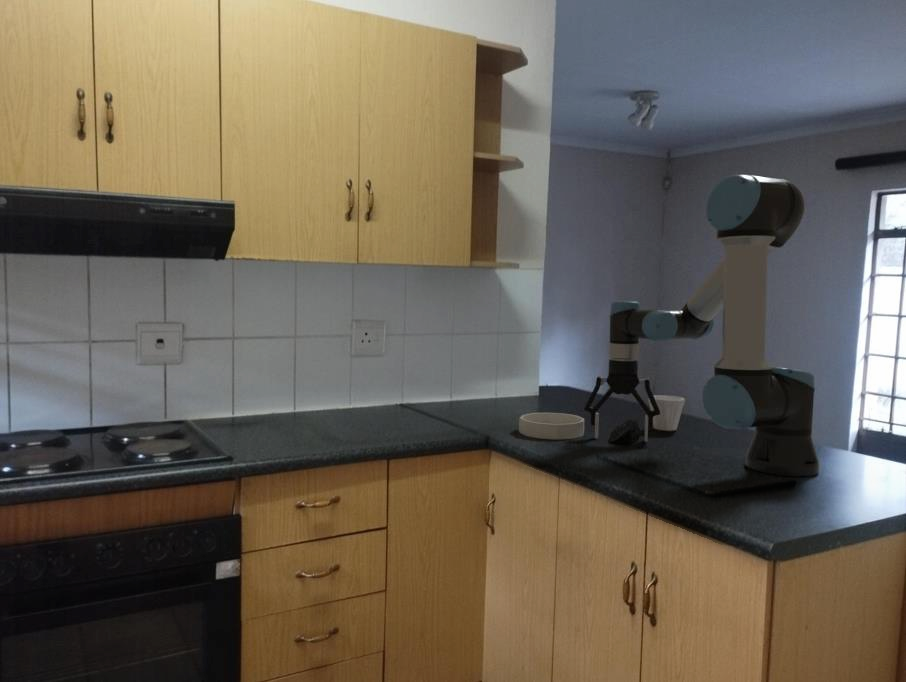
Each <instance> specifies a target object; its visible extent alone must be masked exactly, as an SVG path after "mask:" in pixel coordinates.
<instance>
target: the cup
mask: <svg viewBox="0 0 906 682" xmlns="http://www.w3.org/2000/svg"><path fill="white" fill-rule="evenodd" d="M653 396H654V398H655V401H656V403H657V405H658V408H659V410H660V414H659V415H656V416H654V417H653V428H654V430H656V431H659V432H666V433H667V432H668V433H669V432H672V433H673V432H675V431H677V429H678V425H679V422H680V419H681V414H682V411H683V407H684V404H685V398H684V397H681V396H675V395H666V394H664V395H663V394H661V395H660V394H659V395H658V394H657V395H654V394H653ZM647 397H648V396H647ZM647 401H648V404H649V408H650V410H651V411H653V410H654V409H653V406H652V404H651V402H650V399H649V397H648V398H647Z"/></svg>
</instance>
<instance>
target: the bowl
mask: <svg viewBox="0 0 906 682" xmlns="http://www.w3.org/2000/svg"><path fill="white" fill-rule="evenodd" d="M518 419H519V420H518V425H519V426H518V433H520V434H521V435H524V436H525V437H530V438H535V439H541V440H542V439H543V440H571V439H573V440H574V439H577V438H582V437H584V434H585V418H584V417H582V416H579V415H576V414H569V413H562V412H547V411H546V412H531V413H527V414H526V413H525V414H522V415H520V417H519V418H518Z"/></svg>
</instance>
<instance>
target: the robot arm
mask: <svg viewBox="0 0 906 682" xmlns="http://www.w3.org/2000/svg"><path fill="white" fill-rule="evenodd" d="M804 214H805V200H804V196H803V194H802V192H801V190H800V189H799V187H797V186H796V185H795V184H794V183H793V182H791V181H789V180H787V179H783V178H778V177H777V178H776V177H775V178H774V177H773V178H772V177H764V176H759V175H754V174H732V175H729V176H726V177H724V178H722V179H721V180H719V182H718V183H717V184H716V186H715V187H714V188H712V189H711V191H710V193H709V195H708V198H707V201H706V206H705V216H706V218H707V221H708V222H709V223H710V225H711V227H713V228H714V229H715V230H717V231H716V241H717V242H718V243H719V244H720V246H722V247H723V248H724V249H723V257H722V259H721V261H720V262H719V263H718V264H717V265H716V267H715V268H714V269H713V270H712V272H711V273H710V274H709V276H708V277H706V279H705V280H704V281H703V282H702V284H701V285H700V286H699V288H698V289H697V290H696V291H695V292H694V294H693V295H692V296H691V297H690V298H689V299H688V301H687V302H686V303H685V304H684V305H683V307H682V308H681V309H641V307H640V306H641V304H640V302H639V301H635V300H634V301H632V300H615V301H613V302H612V303H611V305H610V313H609V343H608V345H609V347H608V349H609V350H608V357H609V360H608V373H607V375H608V376H607V377H604V376H603V377H602V376H600V375H598V376H597V377H596V380H595V386H594V388H593V390H592V392H591V394H590V396H589V398H588V400H587V402H586V404H585V406H584V408H583V409H584V411H585V412H588V413H589V414H590V425H591V426H594V439H597V440H598V437H599V416H600V415H599V414H600V413H599V412H597V411H598V410H600V408H601V407H602V406H603V405H604V404H605V402H606V401H607V400H609V398H610V396H611V395H612V394H613V393H614V394H616V395H625V396H626V395H627V396H628V395H630V394H631V395H632V397H634V399H635V400H636V401H637V403H638V404H639V405H640V406H641V408H642V410H643V411H644V412H645V414H646V415H645V416H644V418H645V419H644V440H643V441H644V443H648V442H649V441H648V437H649V430H652V429H653V428H654V425H653V417H654V416H656V415H659V414H660V410H659V408H658V405H657V403H656V401H655V398H654V394H653V392H652V388H651V386H650V379H649V378H646V377H645V379H644V378H640V379H639V377H638V375H639V372H638V370H639V361H638V360H637V359H638V358H639V347H640V346H639V345H640V344H639V343H640V339H642V340H649V341H653V342H658V341H659V342H666V341H670V340H683V339H684V340H687V339H688V340H696V339H701V338H705V337H707V336H709V335H710V334H711V333H712V331H713V328H714V318H715V317H716V316H717V314H718V313H719V312H720V311H721V310H722V339H721V340H722V346H721V358H720V360H718V361H717V362H716V363H715V364H714V371H713V372H714V373H713V374H714V376H712V377H711V378H709V379H708V380H707V382H706V383H705V384H704V385H703V388H702V404H703V407H704V409H705V412H706V414H707V415H708V416H709V417H710V418H711V420H712V421H713V422H714V423H715V424H716V425H718V426H719V427H722V428H724V429H729V430H730V429H731V430H746V429H749V428H755V431H754V435H753V437H752V439H751V441H750V444H749V446H748V449H747V452H746V455H745V466H746V467H748V468H749V469H751V470H753V471H757V472H760V473H764V474H769V475H774V476H775V475H776V476H785V477H811V476H815V475H818V473H819V470H820V468H819V467H820V463H819V458H818V455H817V452H816V447H815V446H814V441H813V438H812V437H813V436H812V433H813V416H814V401H815V399H814V397H815V391H816V387H815V376H814V374H813V373H811V372H810V371H808V370H801V369H793V368H787V367H786V368H785V367H777V366H772V365H771V364H770V363H769V362H768V361H767V359H766V358H765V357H766V324H767V323H766V321H767V320H766V319H767V315H766V313H767V276H768V275H767V274H768V273H767V272H768V256H770V254H771V253H772V252H773V251H774V250H775V249H780V248H783V247H784V245H785V244H786V243H787V242H788V241H789V240H790V238H791V237H792V236H793V235H794V234H795V232H796V230H797V229H798V228H799V226H800V224H801V222H802V219H803V217H804ZM610 358H611V359H610ZM605 383H607V385H608V387H609V388H608V389H607V390H606V392H605V393H604V394H603V395H602V397H601V398H600V399H599V400H598V402H596V404H595V405H594V406H593V407H592V405H593V402H594V400H595V398H596V396H597V394H598V392H599V390H600V388H601V386H603V385H604V384H605ZM640 384H641V387H642V388H645V392H646V394H647V397H649V399H650V402H651V404H652V406H653V409H654V410H653V411H651V410H650V406H648V404H647V403H646V402H645V399H644V398H642V396H641V395H640V394H639V392H638V391H637V389H636V388H637V387H638V385H640Z"/></svg>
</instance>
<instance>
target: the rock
mask: <svg viewBox="0 0 906 682" xmlns="http://www.w3.org/2000/svg"><path fill="white" fill-rule="evenodd" d="M640 435H641V429H640V426H639V424H638V420H637V419H635V418H633V419H629V420H627V421H625V422H623V423H621V424H619V425H617V426H616V427H615V428H614V429H613V430H612V431H611V433H610V434H609V439H608V444H610V445H617V444H619V445H621V446H622V445H623V446H630V445H633V444H634V443H636V441H638V440H639V438H640Z"/></svg>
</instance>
